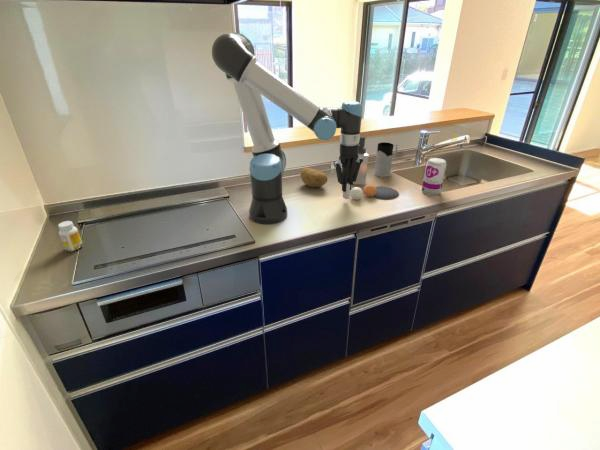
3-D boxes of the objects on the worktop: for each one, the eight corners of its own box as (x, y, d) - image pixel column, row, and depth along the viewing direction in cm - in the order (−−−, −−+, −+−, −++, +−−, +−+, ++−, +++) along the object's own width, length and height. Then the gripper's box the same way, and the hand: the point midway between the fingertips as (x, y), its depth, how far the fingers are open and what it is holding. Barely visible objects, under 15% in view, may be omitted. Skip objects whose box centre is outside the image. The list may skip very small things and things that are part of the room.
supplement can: (433, 197, 151) (440, 164, 144) (417, 191, 157) (423, 159, 149) (444, 192, 155) (451, 160, 148) (428, 186, 161) (434, 156, 153)
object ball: (366, 196, 148) (373, 185, 147) (359, 191, 152) (365, 180, 151) (374, 200, 151) (381, 189, 150) (367, 195, 155) (373, 184, 154)
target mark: (380, 202, 147) (380, 201, 147) (361, 190, 158) (361, 189, 158) (405, 195, 152) (405, 195, 152) (385, 184, 163) (385, 184, 163)
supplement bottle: (64, 254, 114) (54, 229, 110) (66, 245, 119) (56, 221, 114) (82, 250, 116) (73, 225, 111) (84, 242, 121) (75, 218, 116)
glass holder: (369, 173, 177) (372, 144, 169) (387, 166, 184) (390, 139, 177) (383, 178, 171) (387, 148, 163) (400, 171, 179) (405, 142, 171)
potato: (319, 193, 155) (319, 177, 151) (296, 185, 163) (295, 169, 159) (332, 187, 161) (332, 171, 157) (309, 179, 170) (309, 164, 166)
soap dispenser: (363, 177, 171) (367, 133, 160) (365, 184, 164) (369, 138, 153) (350, 177, 172) (353, 133, 161) (351, 184, 164) (355, 138, 153)
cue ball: (362, 186, 145) (367, 195, 148) (354, 183, 149) (359, 191, 153) (353, 195, 144) (358, 203, 147) (345, 191, 149) (350, 200, 152)
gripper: (340, 148, 129) (337, 204, 141) (368, 143, 134) (363, 198, 146) (330, 143, 135) (328, 197, 147) (357, 138, 140) (353, 191, 152)
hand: (345, 197), depth 147 cm, fingers closed
